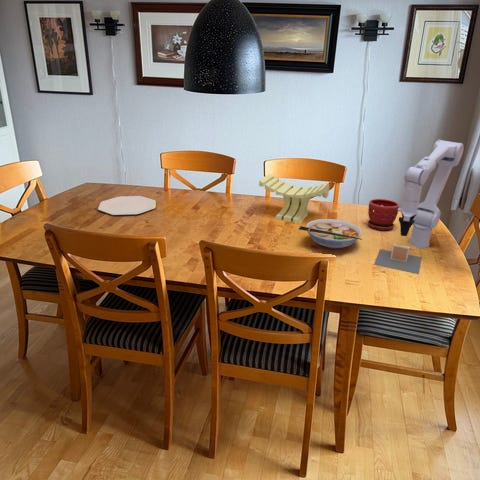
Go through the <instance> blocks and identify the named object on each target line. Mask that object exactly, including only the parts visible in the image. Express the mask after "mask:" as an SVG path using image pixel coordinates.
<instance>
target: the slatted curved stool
mask: <svg viewBox="0 0 480 480" xmlns="http://www.w3.org/2000/svg"><path fill="white" fill-rule="evenodd" d="M258 187H263V188H264V190H269V192H270V193H275V195H277V196H281V197H282V198H283V201H284V202H283V203H284V204H283V207H282V209H281V210H280V211H279V212H278V213H277V214H276V215H275V217H274V218H273V219H274V220H278V221H284V222H289V223H291V222H292V223H294V224H295V223H296V224H301V223H302V222H303V221H304V220H305V219H306V218H307V216H308V215H309V213H308V206H309V202H310V199H311V198H313V197H314V198H315V197H320V198H321V196H322V198H324V199H327V198H328V197H329V192H330V183H329V182H325V183H324V184H323V183H322V184H319V185H313V186H301V185H294V184H289V183H287V182H285V181H283V180H281V179H279V178H277V177H275V175H272V174H269V173H268V174H266V176H263V177H262V178H261V179H259V183H258ZM305 217H306V218H305ZM304 218H305V219H304Z"/></svg>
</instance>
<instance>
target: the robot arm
mask: <svg viewBox="0 0 480 480" xmlns="http://www.w3.org/2000/svg"><path fill="white" fill-rule="evenodd" d="M464 148H465V147H464V144H463V142H454V141H448V140H442V139H438V140H436V141H435V143H434V144H433V147H432V152H431V153H430V154H429V155H428V156H424V157H423V158H422V159H421V160H420V161H419V162H417V163H416V164H415V165H414V166H410V167H408V168H407V169H406V171H405V174H404V176H403V178H404V183H403V185H404V188H405V189H404V192H403V199H402V203H401V207H399V208H398V212H400V214H401V216H399V217H398V222H399V226H400V228H399V229H400V236H402V237H407V236H408V234H409V232H410V229H411V227H412V232H411V236H410V238H409V241H408V243H409V244H410V245H411V246H412V247H415V248H420V249H426V248H428V247H430V239H431V235H432V232H433V231H432V230H434V229H435V228H436V227H437V226H438V224H439V222H440V217H441V214H442V212H441V210H440V209H439V207H438V206H437V205H438V202H439V201H440V199H441V195H442V192H443V191H444V188H445V186H446V184H447V181H448V179H449V178H450V177H449V176H450V174H451V171H452V169H453V168H454V167H456V166H459V163H460V161H461V159H462V156H463V153H464ZM437 164H438V167H437ZM436 167H437V170H436V173H435V175H434V177H433V180H432V181H431V184H430V187H429V189H428V191H427V194H426V195H425V196H426V197H425V199H424V201H421V202H420V199H421V195H422V191H423V190H422V189H423V185H424V184H425V183H426V182H427V179H428V178H429V174H430V173H431V172H433V171H434V170H435V169H436Z"/></svg>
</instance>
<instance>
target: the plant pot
mask: <svg viewBox="0 0 480 480" xmlns="http://www.w3.org/2000/svg"><path fill="white" fill-rule="evenodd" d="M398 208H400V203H398V202H396V201H394V200H391V199H385V198H374V199H371V200H369V204H368V209H367V211H368V212H367V215H368V218H369V220H368V221H367V224H368V226H369V227H371V228H372V229H375V230H378V231H379V230H380V231H389V230H391V229H393V228H394V227H395V223H394V222H395V221H396V218H397V216H398V213H399V211H398Z"/></svg>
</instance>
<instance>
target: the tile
mask: <svg viewBox="0 0 480 480" xmlns="http://www.w3.org/2000/svg"><path fill="white" fill-rule="evenodd" d="M410 247H411V246H407V245H403V244H398V243H393V244H392V248H391V251H392V253H391V258H390V259H393V260H398V261H403V262H407V258H408V255H409V253H410Z"/></svg>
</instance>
